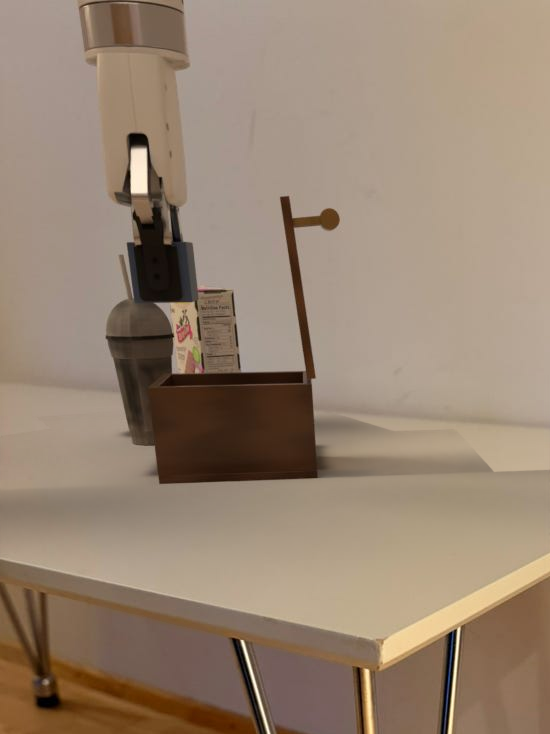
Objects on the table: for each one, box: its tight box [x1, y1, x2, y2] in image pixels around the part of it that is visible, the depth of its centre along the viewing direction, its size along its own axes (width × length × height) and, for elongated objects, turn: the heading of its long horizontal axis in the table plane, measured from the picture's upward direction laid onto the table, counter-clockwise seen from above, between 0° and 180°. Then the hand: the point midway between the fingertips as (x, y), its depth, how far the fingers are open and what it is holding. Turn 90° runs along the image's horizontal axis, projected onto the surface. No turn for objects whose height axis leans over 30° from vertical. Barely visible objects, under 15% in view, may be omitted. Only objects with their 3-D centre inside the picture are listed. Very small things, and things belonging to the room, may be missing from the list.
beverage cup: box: [105, 254, 174, 446], centre depth 109 cm, size 7×7×20 cm
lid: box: [279, 195, 341, 380], centre depth 93 cm, size 15×12×5 cm
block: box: [126, 241, 199, 304], centre depth 80 cm, size 4×4×4 cm
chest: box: [148, 370, 319, 485], centre depth 96 cm, size 15×12×9 cm
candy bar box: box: [169, 285, 242, 373], centre depth 120 cm, size 11×5×16 cm, turn 32°
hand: (166, 296), depth 80 cm, fingers closed on block, 4 cm apart
